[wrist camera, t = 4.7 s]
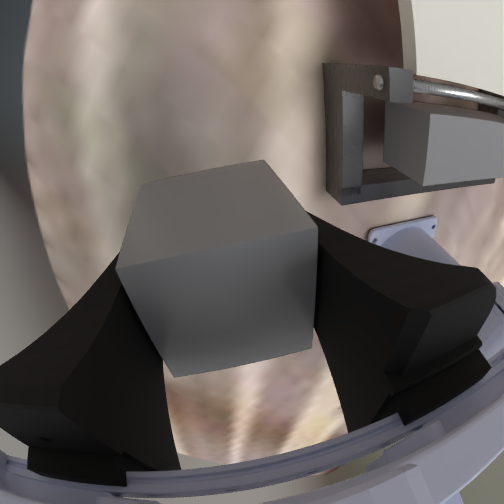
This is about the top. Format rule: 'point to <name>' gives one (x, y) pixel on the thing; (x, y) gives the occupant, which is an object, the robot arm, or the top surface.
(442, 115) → the trapdoor
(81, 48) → the top surface
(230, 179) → the stone block
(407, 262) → the robot arm
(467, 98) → the frame
